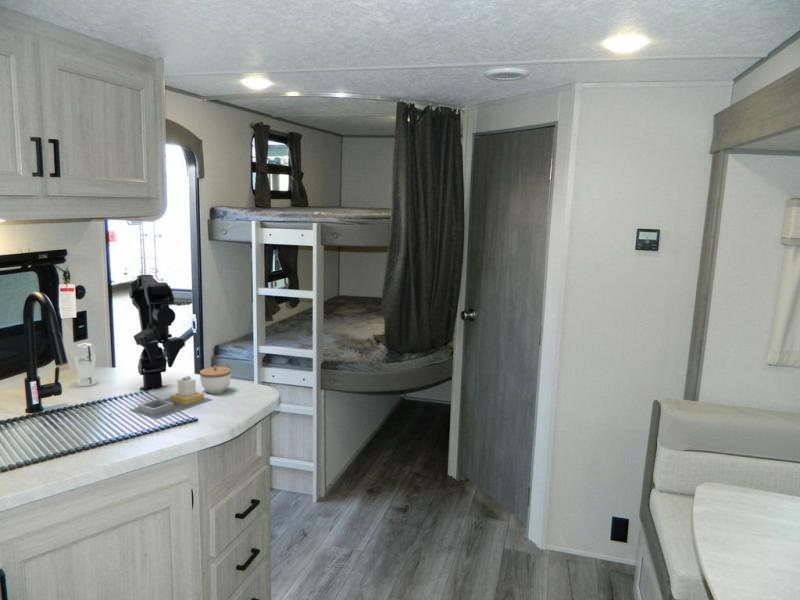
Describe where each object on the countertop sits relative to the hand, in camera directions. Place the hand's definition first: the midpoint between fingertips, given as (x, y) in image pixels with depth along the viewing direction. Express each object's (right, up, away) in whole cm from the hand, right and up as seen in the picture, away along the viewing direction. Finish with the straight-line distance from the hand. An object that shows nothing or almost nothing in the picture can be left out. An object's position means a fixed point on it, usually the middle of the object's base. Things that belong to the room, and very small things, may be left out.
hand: (161, 365), depth 193 cm
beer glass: (-36, -9, +19) cm, 41 cm away
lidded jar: (+15, -11, +13) cm, 22 cm away
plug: (+9, -12, 0) cm, 15 cm away
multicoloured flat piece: (+6, -14, -5) cm, 16 cm away
